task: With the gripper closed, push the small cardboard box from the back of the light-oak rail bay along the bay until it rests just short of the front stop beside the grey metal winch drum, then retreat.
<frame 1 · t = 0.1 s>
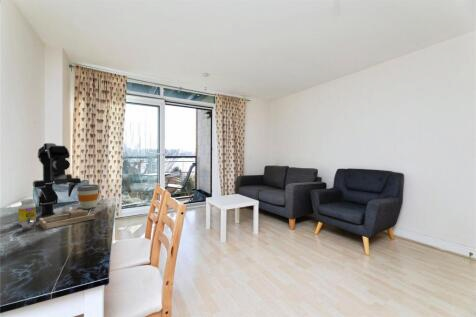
hand: (58, 198, 111), 15 cm above the table, fingers open, 9 cm apart
bay: (67, 221, 118), on the table
reusable coffee cup: (88, 207, 148), on the table
cardboard box: (76, 219, 121), resting in bay
supplement bottle: (27, 223, 114), on the table
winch: (28, 229, 106), on the table
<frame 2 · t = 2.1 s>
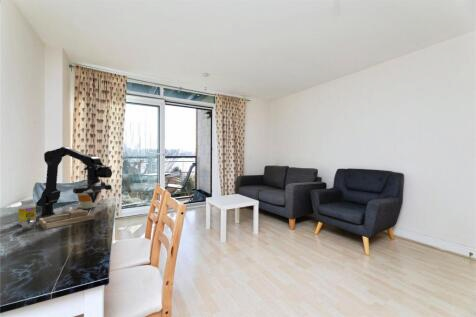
hand: (93, 202, 128), 8 cm above the table, fingers closed
nothing on the table moved.
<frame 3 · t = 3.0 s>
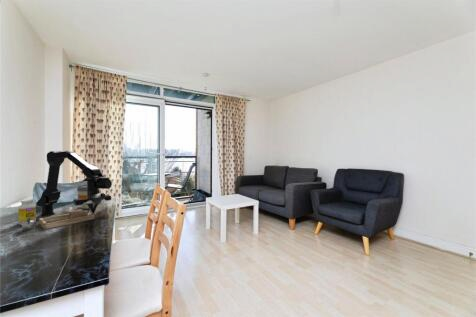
hand: (93, 213, 128), 1 cm above the table, fingers closed
nothing on the table moved.
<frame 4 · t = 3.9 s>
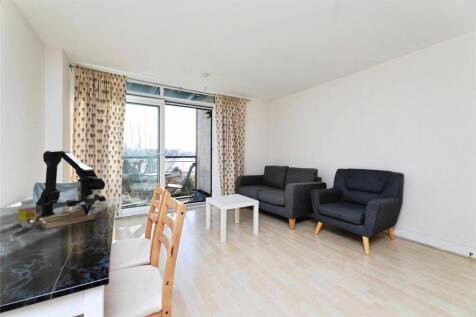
hand: (86, 214, 125), 1 cm above the table, fingers closed
cardboard box: (76, 219, 121), resting in bay, touching gripper
everything else where it was.
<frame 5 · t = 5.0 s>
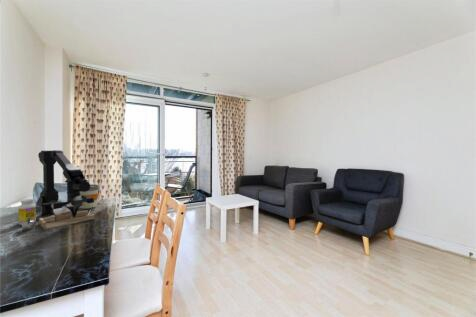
hand: (74, 217, 120), 2 cm above the table, fingers closed
cardboard box: (63, 222, 116), resting in bay, touching gripper
everything else where it was.
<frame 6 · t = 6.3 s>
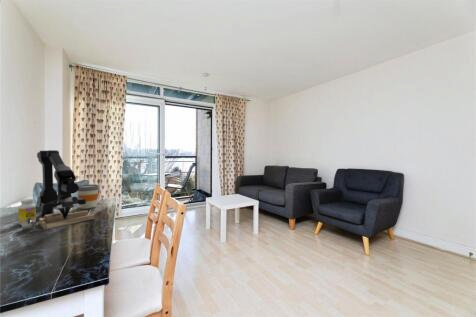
hand: (64, 218, 117), 2 cm above the table, fingers closed
cardboard box: (53, 224, 113), resting in bay, touching gripper
everything else where it was.
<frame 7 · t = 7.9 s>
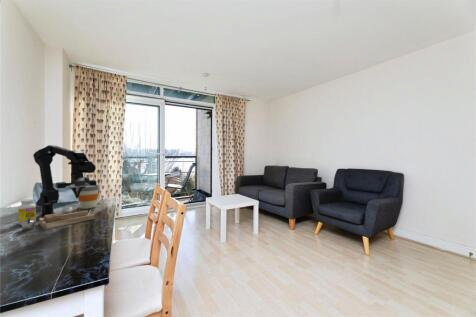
hand: (77, 198, 124), 12 cm above the table, fingers closed
cardboard box: (53, 224, 113), resting in bay
everything else where it was.
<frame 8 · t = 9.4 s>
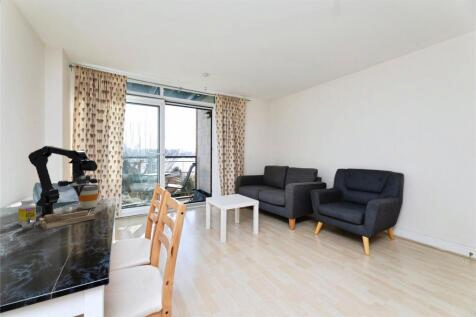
hand: (78, 196, 128), 12 cm above the table, fingers closed
nothing on the table moved.
at the end: cardboard box inside the target area (0.4 cm from its centre), resting in bay; cardboard box tilted 0°; cardboard box moved 10.4 cm from its start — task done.
